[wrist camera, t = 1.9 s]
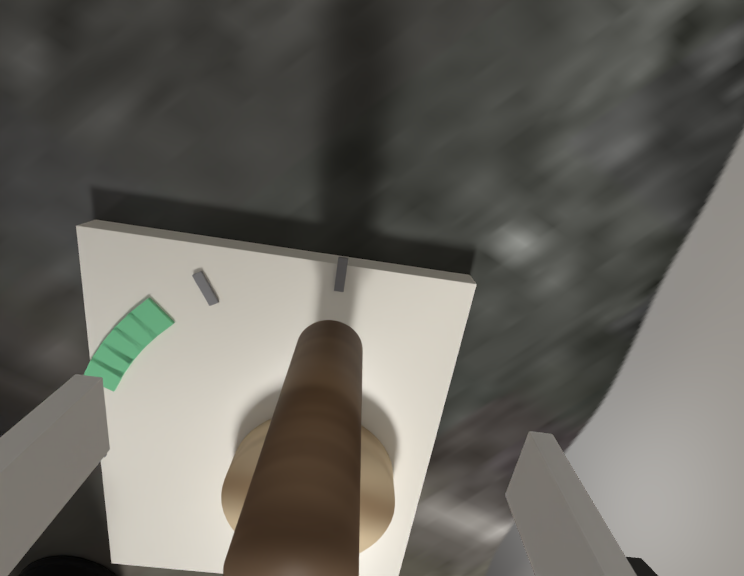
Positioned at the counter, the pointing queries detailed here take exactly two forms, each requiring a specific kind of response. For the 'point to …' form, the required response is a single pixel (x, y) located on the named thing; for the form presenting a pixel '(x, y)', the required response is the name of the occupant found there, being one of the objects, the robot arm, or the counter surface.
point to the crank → (310, 470)
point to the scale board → (247, 373)
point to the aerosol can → (65, 568)
